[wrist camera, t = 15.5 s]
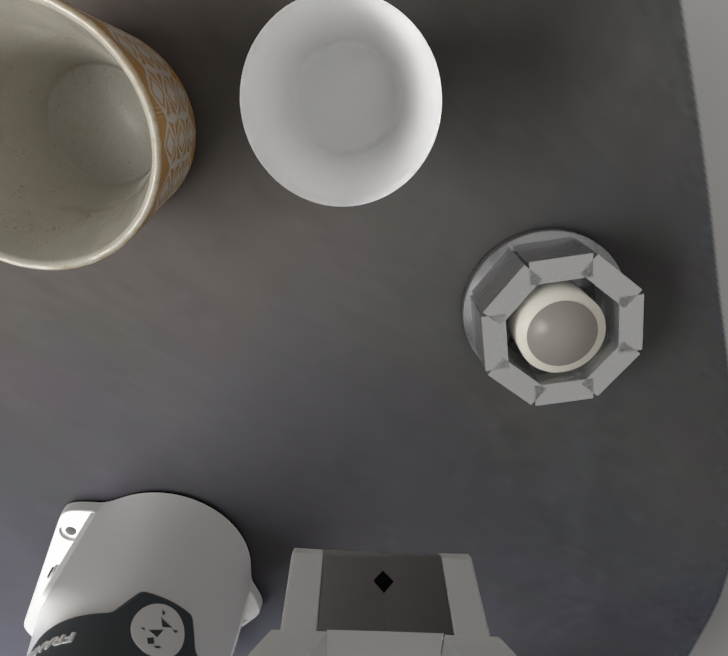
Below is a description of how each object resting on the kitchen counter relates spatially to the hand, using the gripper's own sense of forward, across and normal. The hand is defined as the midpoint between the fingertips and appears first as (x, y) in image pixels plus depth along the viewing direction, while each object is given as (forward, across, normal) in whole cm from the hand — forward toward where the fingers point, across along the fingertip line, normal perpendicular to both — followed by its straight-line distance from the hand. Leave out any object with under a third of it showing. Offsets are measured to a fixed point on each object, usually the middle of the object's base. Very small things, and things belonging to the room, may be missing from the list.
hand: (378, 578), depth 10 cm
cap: (+30, -13, +6) cm, 33 cm away
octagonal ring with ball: (+31, -13, +6) cm, 34 cm away
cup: (+31, +2, -7) cm, 32 cm away
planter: (+31, +16, -5) cm, 36 cm away
